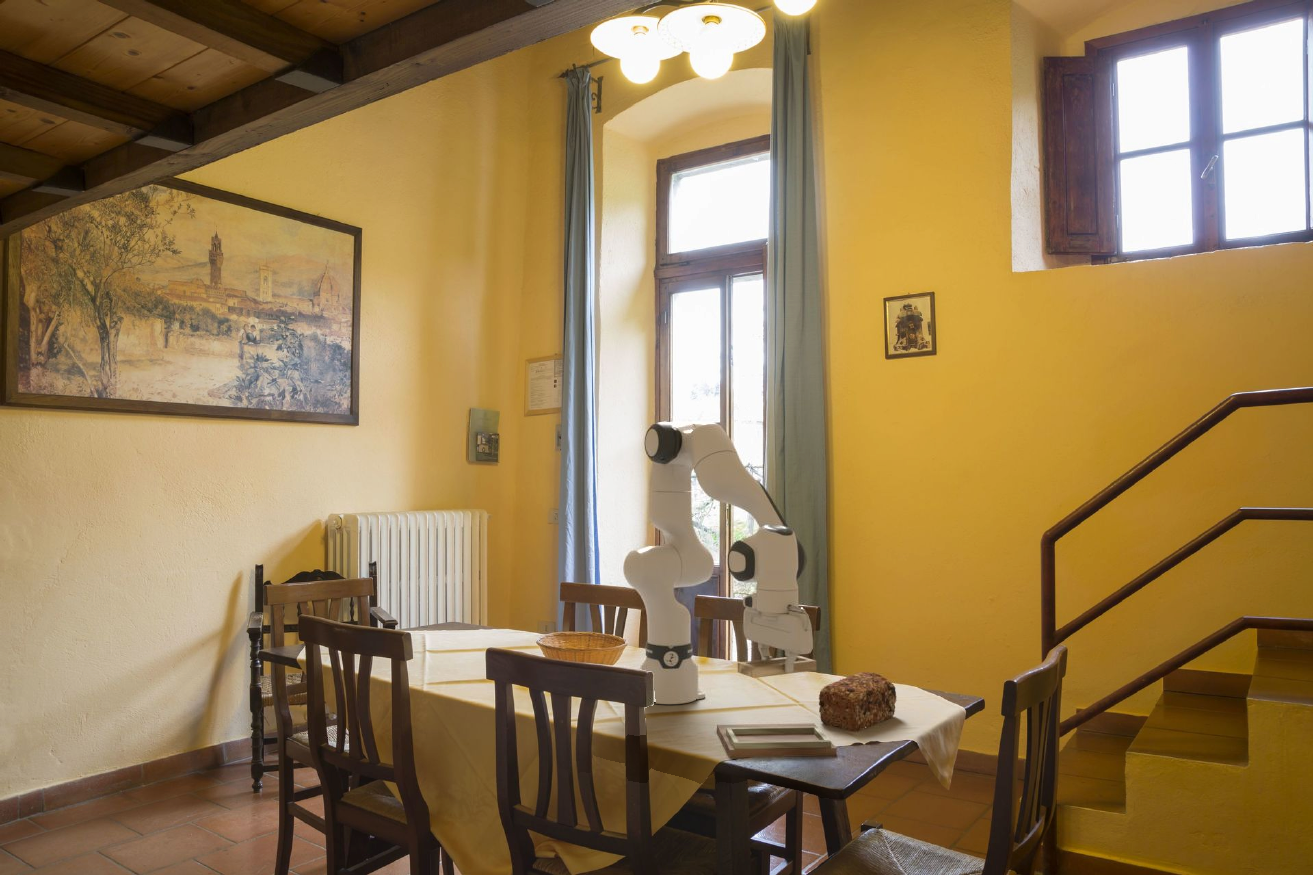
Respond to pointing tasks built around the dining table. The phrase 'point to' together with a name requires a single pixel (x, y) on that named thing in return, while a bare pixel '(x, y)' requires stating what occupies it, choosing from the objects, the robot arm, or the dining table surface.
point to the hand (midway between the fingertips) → (777, 668)
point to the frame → (774, 667)
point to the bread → (857, 701)
